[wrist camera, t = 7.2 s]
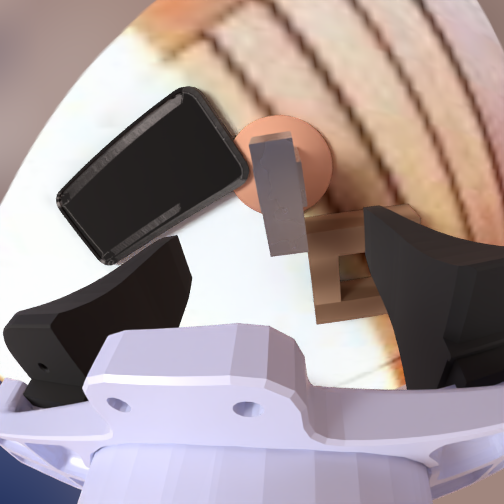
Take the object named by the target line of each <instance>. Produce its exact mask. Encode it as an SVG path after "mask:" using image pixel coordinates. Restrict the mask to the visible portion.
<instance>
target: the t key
mask: <svg viewBox="0 0 504 504" xmlns="http://www.w3.org/2000/svg"><path fill="white" fill-rule="evenodd" d="M249 149H250V154H251V159H252V164H253V168H252V169H253V174H254V179H255V184H256V189H257V194H258V199H259V204H260V209H261V213H262V214H263V219H264V224H265V229H266V234H267V239H268V244H269V250H270V255H271V257H272V256H280V255H288V254H296V253H303V252H309V251H308V243H307V235H306V227H305V219H304V212H303V207H307V198H306V191H305V184H304V177H303V170H302V164H301V159H300V156H299V152H298V149H297V146H295V147H294V146H293V140H292V135H291V132H290V131H287V132H280V133H274V134H268V135H261V136H256V137H252V138H251V140H250V142H249Z"/></svg>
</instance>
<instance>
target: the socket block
mask: <svg viewBox="0 0 504 504" xmlns="http://www.w3.org/2000/svg"><path fill="white" fill-rule="evenodd" d="M385 208H387V209H389V210H391V211H393V212H395V213H397V214H399V215H401V216H403V217H406V218H408V219H410V220H412V221H414V222H416V223H418V224H421V218H420V217H419V215H418V214H417V213H416V212H415V211H414V210H413V209H412V208H411V206H410V205H409V204H403V205H395V206H387V207H385ZM304 219H305V227H306V235H307V243H308V251H309V252H308V258H309V265H310V273H311V281H312V289H313V298H314V306H315V315H316V323H317V324H324V323H332V322H339V321H345V320H352V319H358V318H365V317H371V316H377V315H383V314H388V312H387V310H386V308H385V306H384V303H383V301H382V299H381V296H380V294H379V292H378V290H377V287H376V285H375V283H374V281H373V278H372V277H367V278H360V279H354V280H347V281H340V275H339V260H338V256H342V255H349V254H356V253H363V252H365V232H364V211H363V210H357V211H349V212H342V213H334V214H327V215H320V216H313V217H306V218H304Z"/></svg>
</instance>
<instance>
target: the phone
mask: <svg viewBox="0 0 504 504" xmlns="http://www.w3.org/2000/svg"><path fill="white" fill-rule="evenodd" d="M233 141H234V139H233V138H232V136H231V135H230V133H229V132H228V130H227V129H226V127H225V126H224V124H223V123H222V121H221V120H220V118H219V117H218V115H217V114H216V112H215V111H214V109H213V108H212V106H211V105H210V103H209V102H208V100H207V99H206V98H205V96H204V95H203V93H202V92H201V91H200V90H199V89H197V88H195V87H190V86H188V87H181V88H178V89H177V90H175V91H173V92H172V93H171V94H169V95H168V96H167V97H165V98H164V99H163V100H161V101H160V102H159V103H157V104H156V105H155V106H153V107H152V108H151V109H149V110H148V111H147V112H146V113H144V114H143V115H142V116H141V117H139V118H138V119H137V120H136V121H134V122H133V123H132V124H131V125H130V126H128V127H127V128H126V129H125V130H124V131H122V132H121V133H120V134H119V135H118V136H117V137H116V138H114V139H113V140H112V141H111V142H110V143H109V144H108V145H106V146H105V147H104V148H103V149H102V150H101V151H100V152H99V153H98V154H97V155H95V156H94V157H93V158H92V159H91V160H90V161H89V162H88V163H87V164H86V165H85V166H84V167H83V168H82V169H81V170H80V171H79V172H78V173H77V174H76V175H75V176H74V177H73V178H72V179H71V180H70V181H69V182H68V183H67V184H66V185H65V186H64V187H63V188H62V189H61V190H60V191H59V192H58V194H57V197H56V203H57V206H58V208H59V210H60V211H61V213H62V214H63V215H64V217H65V218H66V219H67V221H68V222H69V223H70V225H71V226H72V227H73V229H74V230H75V231H76V233H77V234H78V235H79V236H80V238H81V239H82V240H83V241H84V243H85V244H86V245H87V247H88V248H89V249H90V250H91V252H92V253H93V254H94V255H95V256H96V258H97V259H98V260H99V261H100V262H101V263H103V264H105V265H113V264H115V263H117V262H118V261H120V260H121V259H123V258H124V257H126V256H127V255H129V254H131V253H132V252H134V251H135V250H137V249H138V248H140V247H141V246H143V245H145V244H147V243H148V242H150V241H151V240H152V239H154V238H155V237H157V236H159V235H160V234H162V233H163V232H165V231H167V230H168V229H170V228H171V227H173V226H175V225H176V224H178V223H179V222H181V221H183V220H184V219H186V218H188V217H189V216H191V215H193V214H194V213H196V212H198V211H199V210H201V209H203V208H204V207H206V206H208V205H209V204H211V203H213V202H214V201H216V200H218V199H219V198H221V197H223V196H225V195H226V194H228V193H230V192H232V191H233V190H235V189H237V188H238V187H240V186H242V185H243V184H244V183H245V182H246V180H247V179H248V175H249V166H248V164H247V161H246V160H245V158H244V157H243V155H242V154H241V152H240V151H239V149H238V148H237V146H236V145H235V143H234V142H233Z"/></svg>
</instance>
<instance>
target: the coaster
mask: <svg viewBox="0 0 504 504" xmlns="http://www.w3.org/2000/svg"><path fill="white" fill-rule="evenodd" d="M287 131H290V132H291V135H292V140H293V146H294V147H295V146H297V149H298V152H299V156H300V159H301V164H302V170H303V177H304V184H305V191H306V198H307V207H303V211H305V210H307V209H308V208H310V207H312V206H313V205H314V204H315V203H317V202H318V201H319V199H320V198H321V197H322V196H323V194H324V193H325V192H326V190H327V188H328V186H329V183H330V180H331V176H332V158H331V153H330V150H329V147H328V146H327V144H326V142H325V140H324V139H323V137H322V136H321V135H320V134H319V132H318V131H317V130H316V129H314V128H313V127H312V126H311V125H309V124H308V123H306V122H305V121H302V120H300V119H298V118H294V117H291V116H285V115H273V116H267V117H263V118H260V119H258V120H255V121H254V122H252V123H250V124H249V125H247V126H246V127H245V128H244V129H242V130H241V131H240V132H239V134H238V135H237V136H236V138H235V139H234V141H233V142H234V143H235V145H236V146H237V148H238V149H239V151H240V152H241V154H242V155H243V157H244V158H245V160H246V161H247V164H248V166H249V175H248V179H247V180H246V182H245V183H244V184H243V185H242V186H240V187H238V188H237V189H235V190H233V191H234V192H235V194H236V195H237V196H238V198H239V199H240V200H241V201H242V202H243V203H244V204H245V205H247V206H248V207H250V208H251V209H253V210H255V211H257V212H259V213H261V209H260V204H259V199H258V194H257V189H256V184H255V179H254V174H253V169H252V168H253V164H252V159H251V154H250V149H249V142H250V140H251V138H252V137H256V136H261V135H268V134H274V133H280V132H287Z"/></svg>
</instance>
